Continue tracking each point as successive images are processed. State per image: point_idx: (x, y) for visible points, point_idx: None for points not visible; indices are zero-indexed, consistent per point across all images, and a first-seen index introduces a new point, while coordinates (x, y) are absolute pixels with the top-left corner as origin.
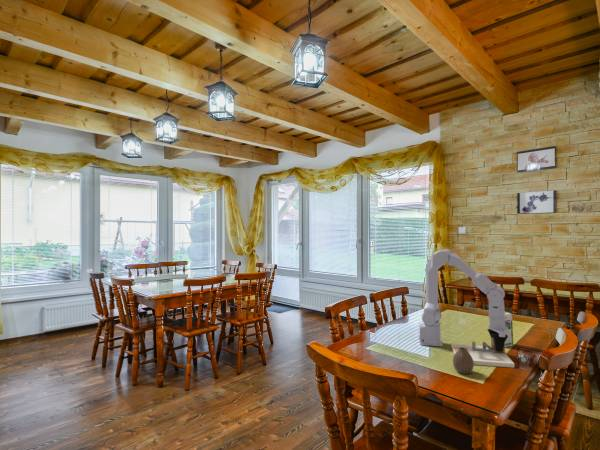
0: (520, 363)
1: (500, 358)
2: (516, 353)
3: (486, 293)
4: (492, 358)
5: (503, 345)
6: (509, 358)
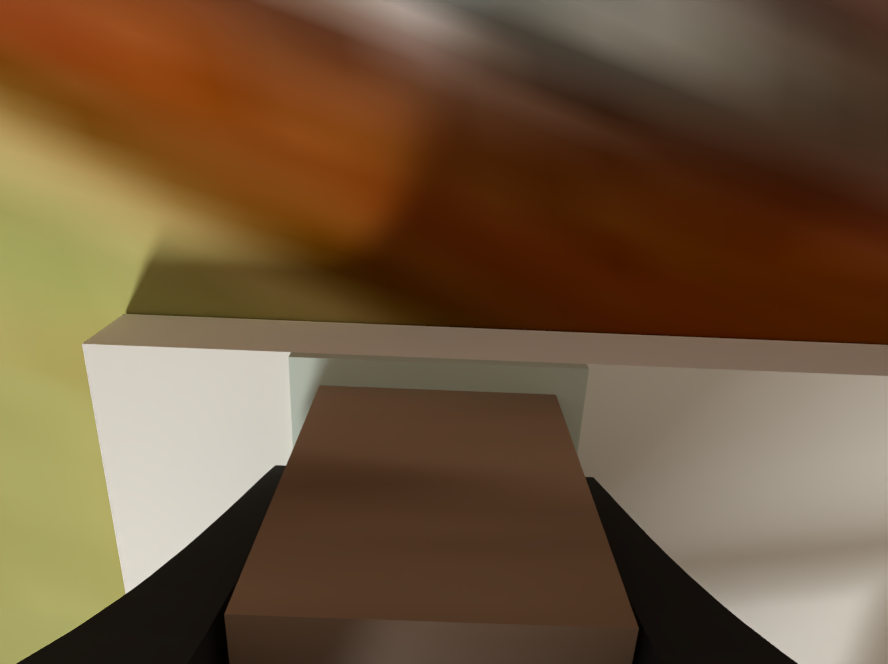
0: (859, 155)
1: (828, 542)
2: (212, 4)
3: None
4: (822, 660)
5: (682, 577)
6: (841, 385)
